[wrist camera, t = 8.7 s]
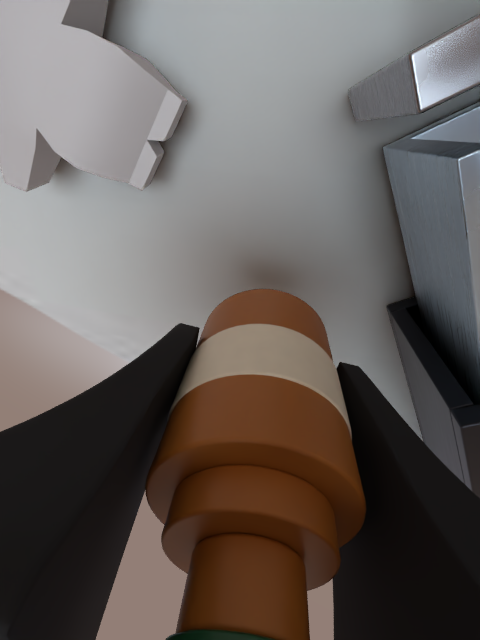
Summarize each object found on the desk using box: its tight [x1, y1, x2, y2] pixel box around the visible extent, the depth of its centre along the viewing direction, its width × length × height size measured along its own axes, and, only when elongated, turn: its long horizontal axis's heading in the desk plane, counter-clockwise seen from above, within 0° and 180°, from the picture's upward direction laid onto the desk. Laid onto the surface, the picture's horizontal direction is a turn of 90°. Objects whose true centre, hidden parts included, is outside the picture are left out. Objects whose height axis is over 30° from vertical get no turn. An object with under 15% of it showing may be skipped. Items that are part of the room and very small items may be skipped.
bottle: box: [146, 289, 366, 640], centre depth 7 cm, size 4×4×8 cm
